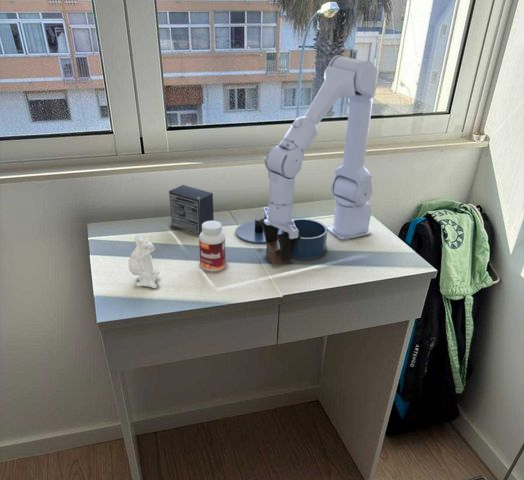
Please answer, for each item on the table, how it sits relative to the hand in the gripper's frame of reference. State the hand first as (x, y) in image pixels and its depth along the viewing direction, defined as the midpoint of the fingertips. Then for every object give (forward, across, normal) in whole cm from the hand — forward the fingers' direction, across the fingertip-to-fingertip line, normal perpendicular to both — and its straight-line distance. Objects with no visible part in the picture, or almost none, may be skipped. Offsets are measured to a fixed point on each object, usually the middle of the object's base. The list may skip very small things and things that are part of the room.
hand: (278, 253), depth 129 cm
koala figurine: (+2, -3, -33) cm, 33 cm away
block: (+2, 0, 0) cm, 2 cm away
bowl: (+2, -3, +9) cm, 10 cm away
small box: (+2, -26, -13) cm, 29 cm away
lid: (+2, -15, +2) cm, 15 cm away
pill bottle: (+2, -4, -16) cm, 17 cm away
